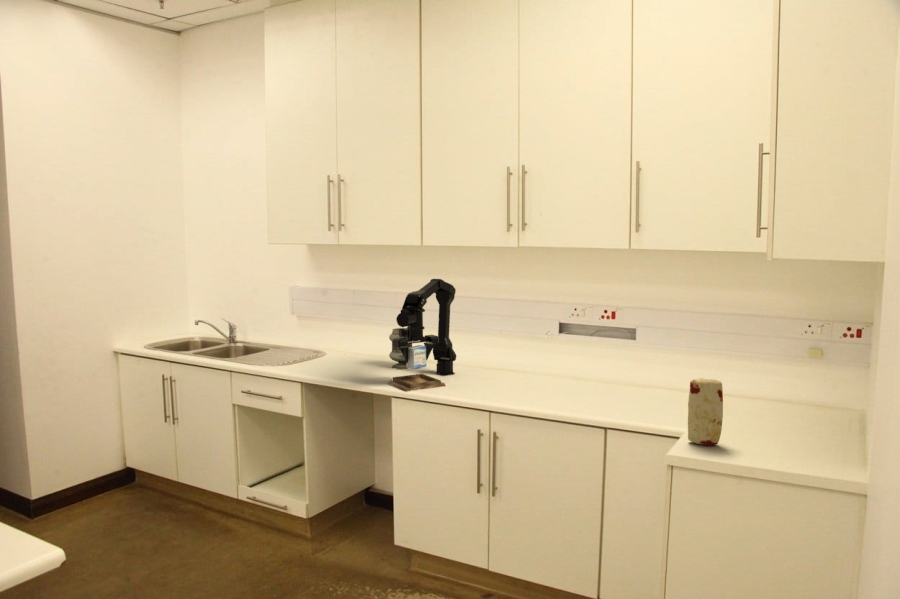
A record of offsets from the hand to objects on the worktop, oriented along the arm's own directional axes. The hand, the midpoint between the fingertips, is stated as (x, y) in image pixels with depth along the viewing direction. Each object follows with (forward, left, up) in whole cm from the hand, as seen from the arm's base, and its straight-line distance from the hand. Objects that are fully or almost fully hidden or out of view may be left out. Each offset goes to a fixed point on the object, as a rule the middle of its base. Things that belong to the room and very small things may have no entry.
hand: (416, 361), depth 289 cm
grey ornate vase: (-12, -36, -10) cm, 40 cm away
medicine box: (0, 0, -3) cm, 3 cm away
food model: (-35, +116, -10) cm, 121 cm away
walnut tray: (0, 0, -10) cm, 10 cm away
